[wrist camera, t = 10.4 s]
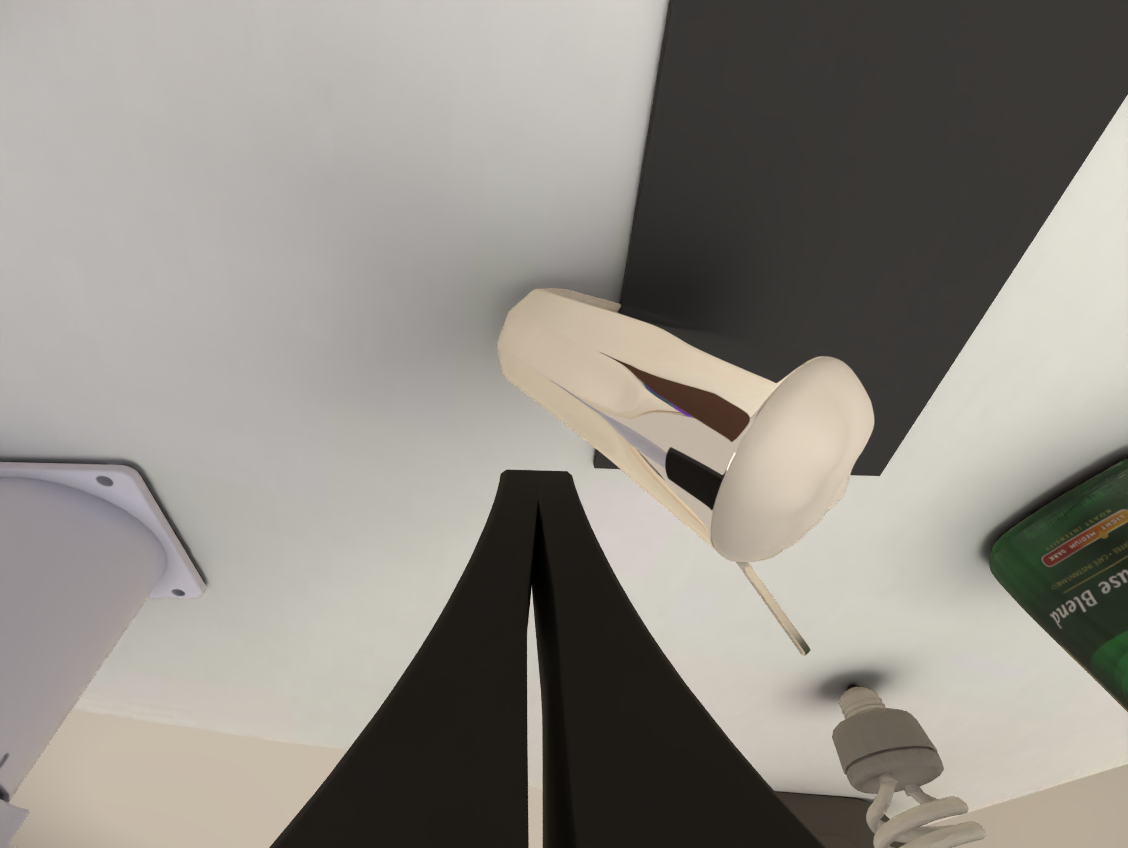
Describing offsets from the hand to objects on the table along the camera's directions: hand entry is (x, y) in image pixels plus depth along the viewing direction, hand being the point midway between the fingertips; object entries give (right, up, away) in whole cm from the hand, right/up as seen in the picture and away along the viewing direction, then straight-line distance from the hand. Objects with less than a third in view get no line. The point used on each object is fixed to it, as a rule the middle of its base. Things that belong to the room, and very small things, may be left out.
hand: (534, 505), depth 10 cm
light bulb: (+20, -16, +23) cm, 35 cm away
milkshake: (0, +4, +5) cm, 6 cm away
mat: (+9, +7, +4) cm, 12 cm away
